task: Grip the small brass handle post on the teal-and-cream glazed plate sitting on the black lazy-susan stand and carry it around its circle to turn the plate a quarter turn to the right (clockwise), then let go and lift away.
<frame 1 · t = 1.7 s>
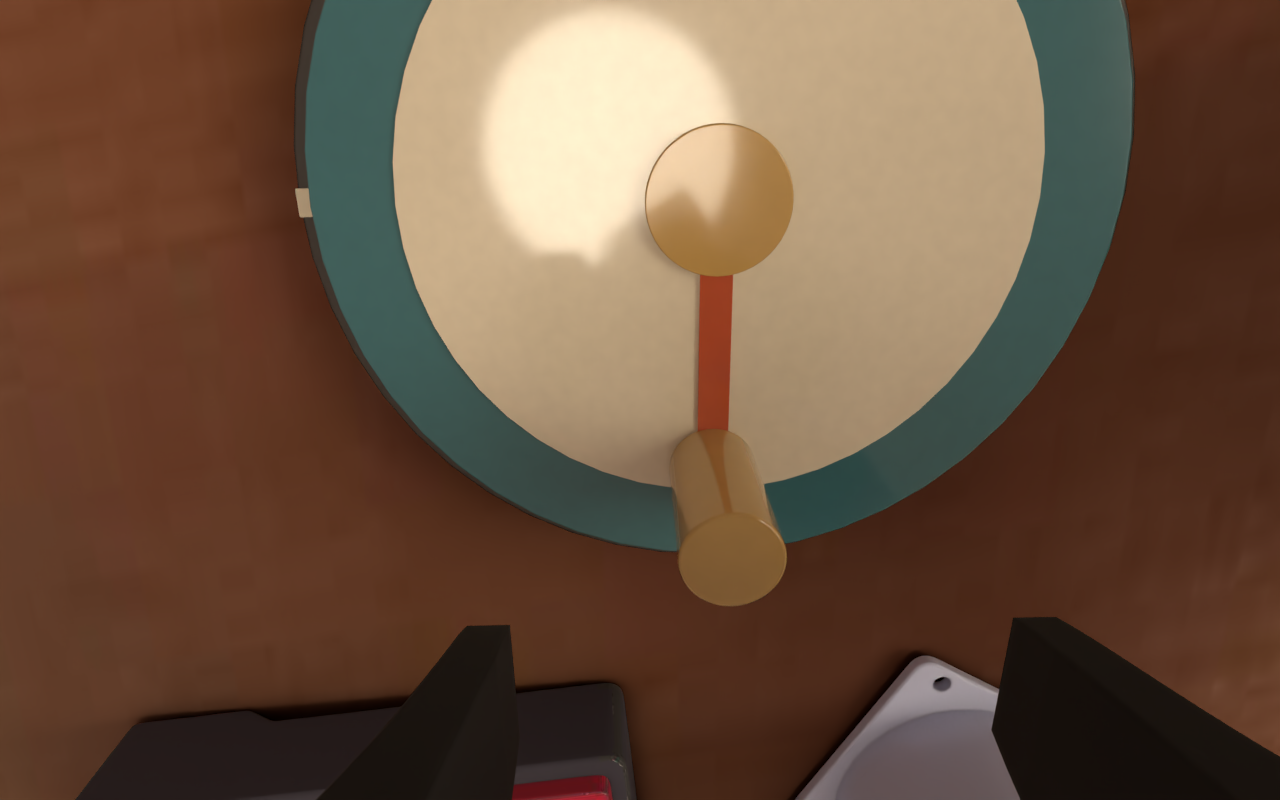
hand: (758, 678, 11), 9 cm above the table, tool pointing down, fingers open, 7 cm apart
stand: (707, 192, 17), on the table
plate: (727, 210, 14), point 4 cm above the table, hinge at 0.0°
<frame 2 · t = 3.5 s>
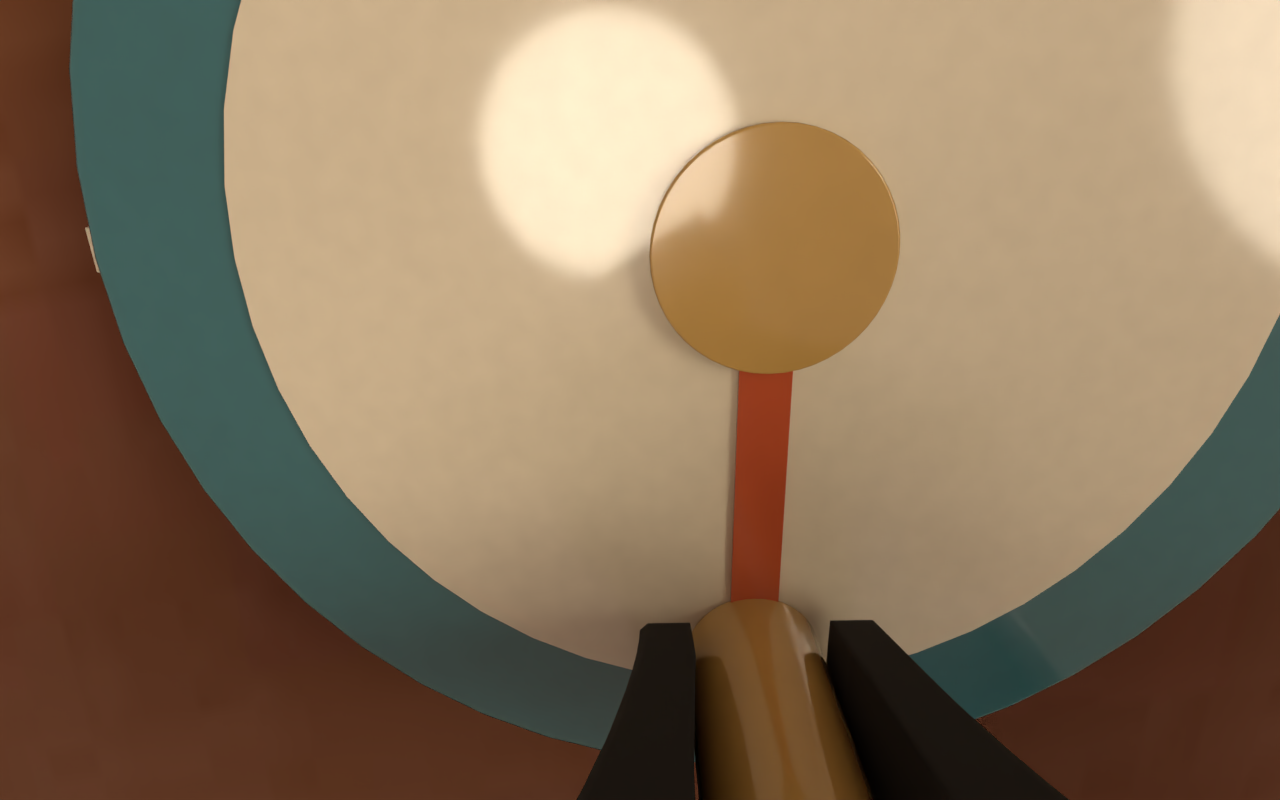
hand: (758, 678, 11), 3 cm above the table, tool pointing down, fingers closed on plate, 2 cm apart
plate: (798, 278, 8), point 4 cm above the table, hinge at -0.1°, touching gripper
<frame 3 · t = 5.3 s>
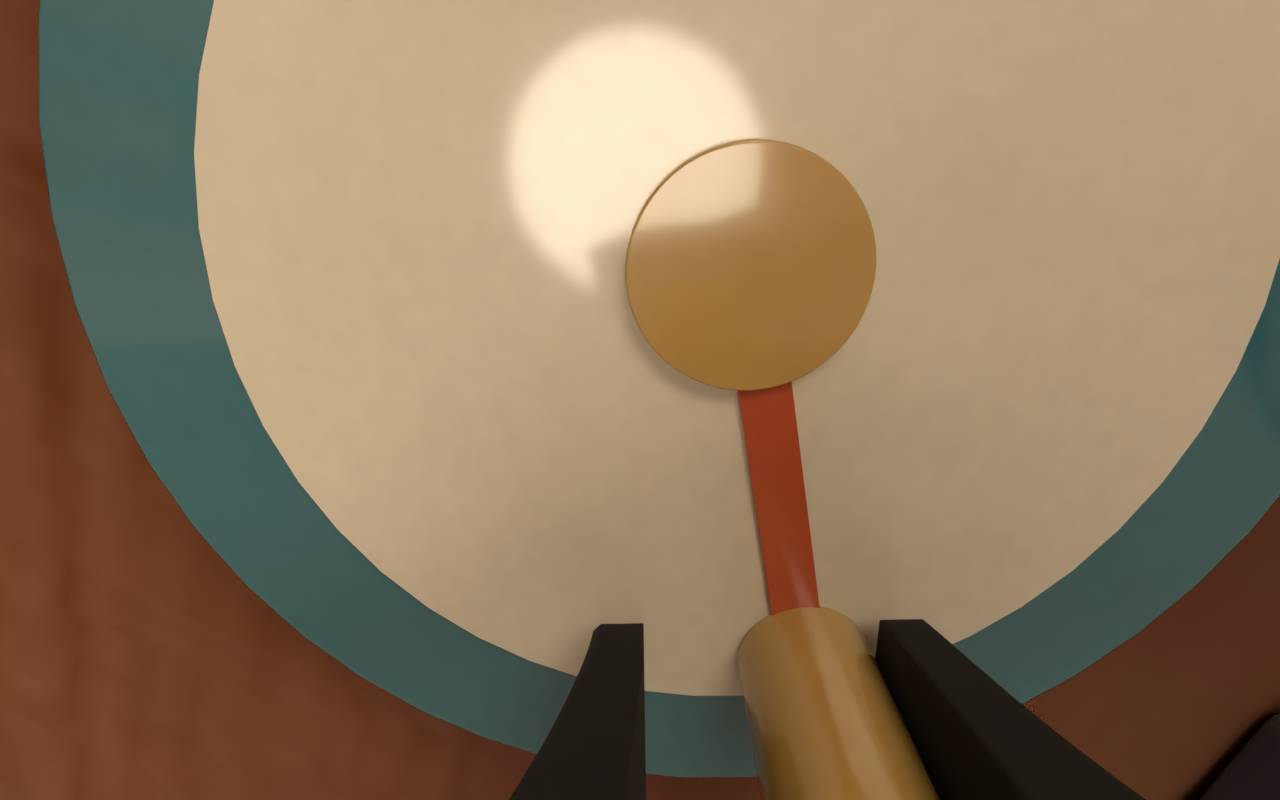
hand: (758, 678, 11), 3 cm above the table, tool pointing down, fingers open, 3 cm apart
plate: (771, 298, 8), point 4 cm above the table, hinge at -50.0°, touching gripper
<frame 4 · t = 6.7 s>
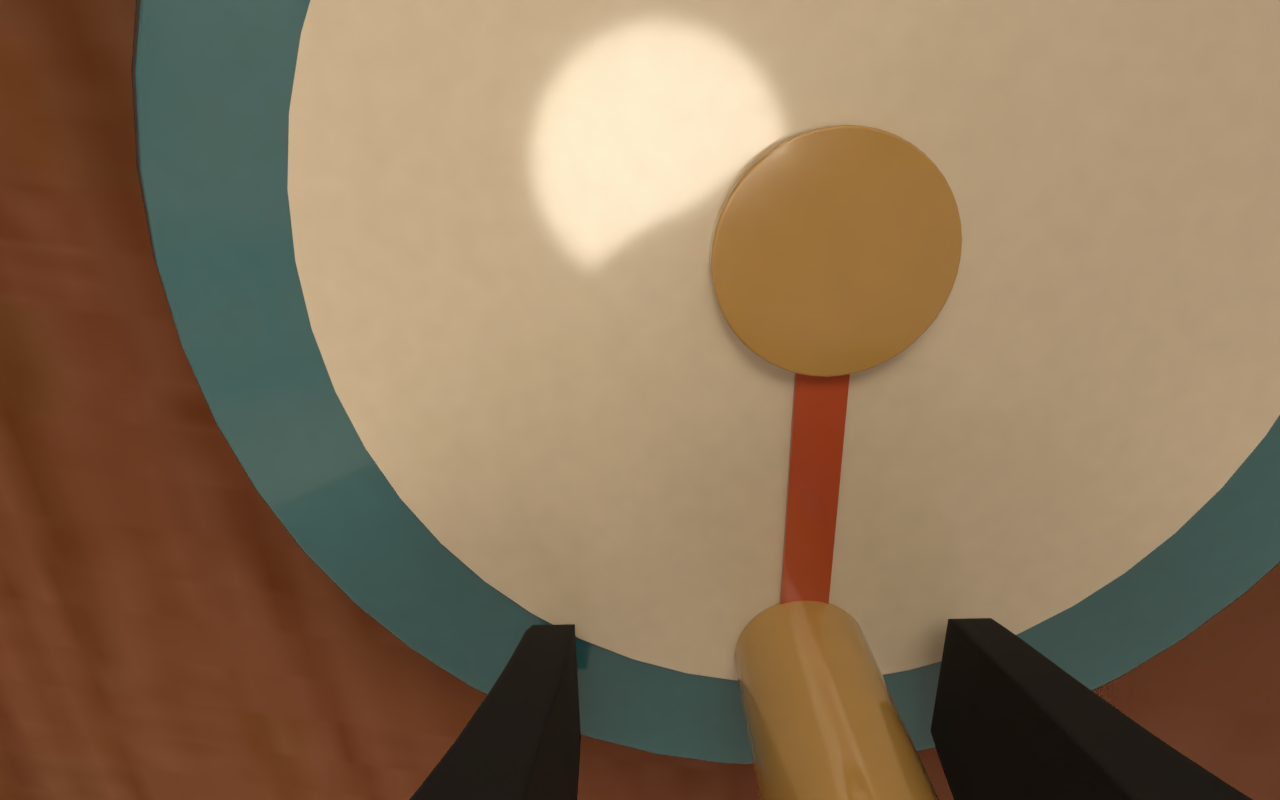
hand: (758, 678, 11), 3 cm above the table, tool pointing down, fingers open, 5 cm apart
stand: (794, 230, 11), on the table
plate: (870, 281, 8), point 4 cm above the table, hinge at -83.1°
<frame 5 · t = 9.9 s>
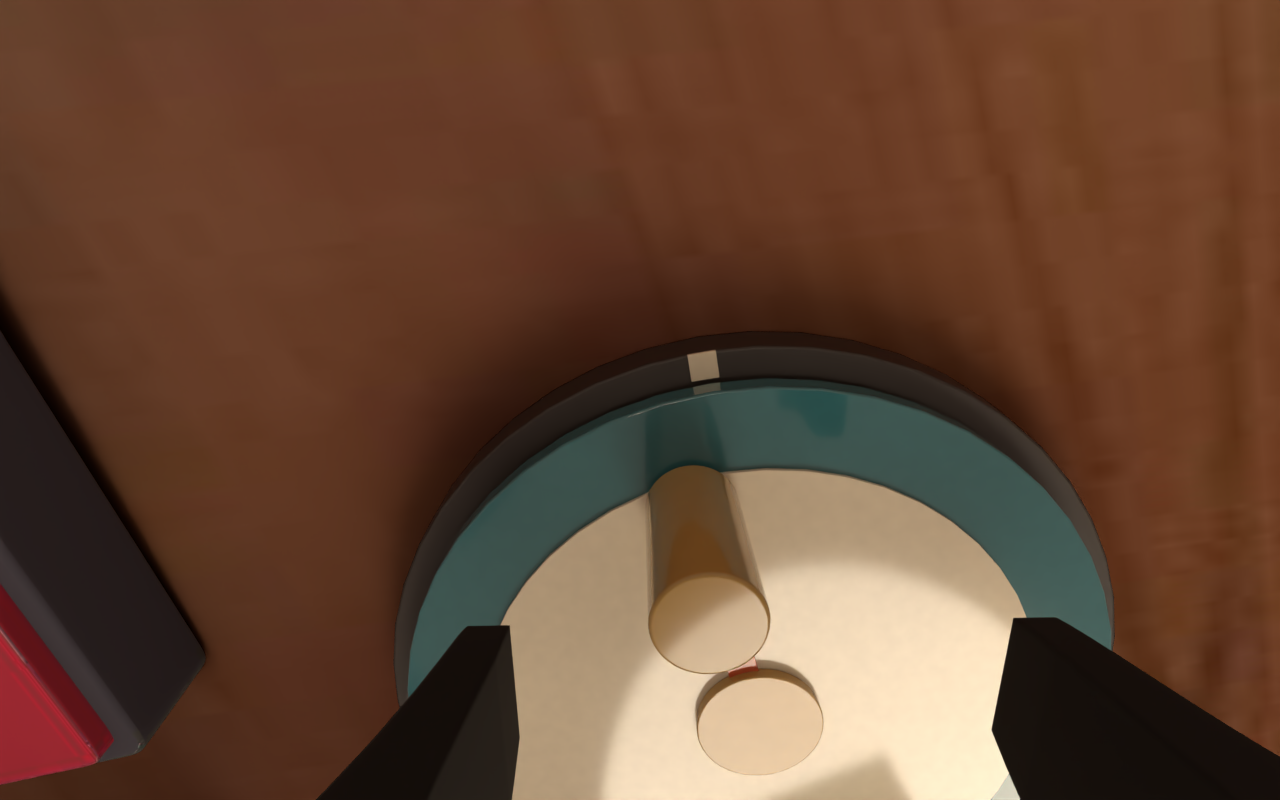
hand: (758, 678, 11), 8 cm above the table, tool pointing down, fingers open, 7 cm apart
stand: (745, 656, 20), on the table
plate: (770, 775, 16), point 4 cm above the table, hinge at -83.1°
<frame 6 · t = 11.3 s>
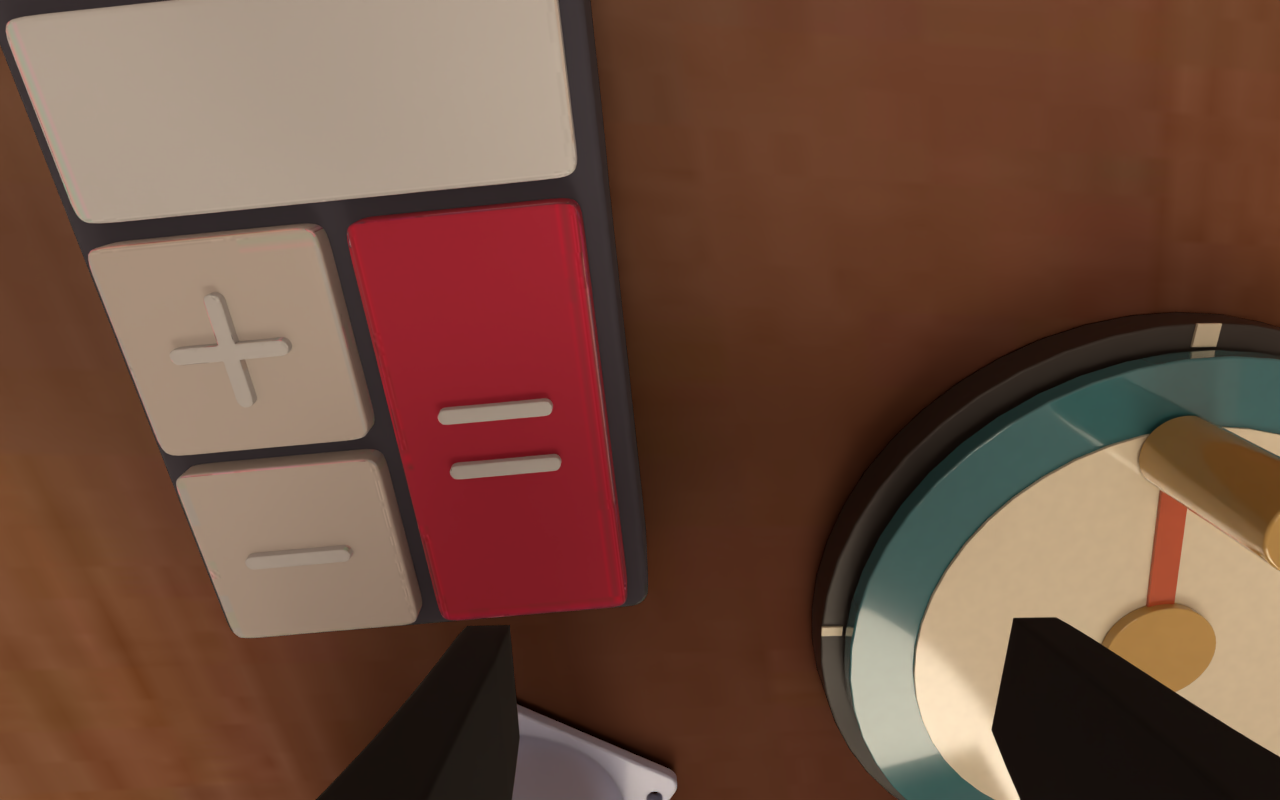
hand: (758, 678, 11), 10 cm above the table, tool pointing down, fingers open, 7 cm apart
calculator: (414, 312, 20), on the table
stand: (1105, 600, 23), on the table
plate: (1195, 689, 19), point 4 cm above the table, hinge at -83.1°
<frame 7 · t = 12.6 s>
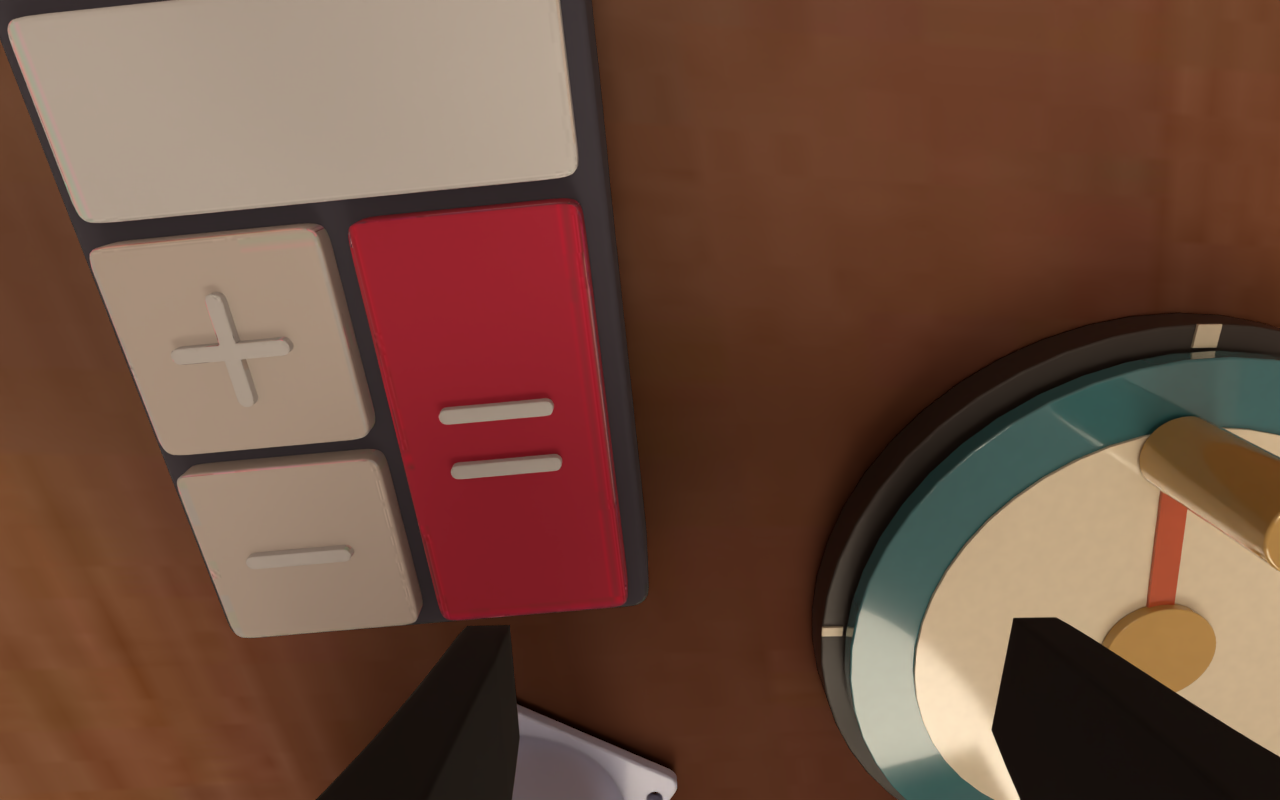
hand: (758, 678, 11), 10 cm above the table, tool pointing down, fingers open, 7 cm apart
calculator: (415, 312, 20), on the table
stand: (1105, 600, 23), on the table
plate: (1195, 690, 19), point 4 cm above the table, hinge at -83.1°
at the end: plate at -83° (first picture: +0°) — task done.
